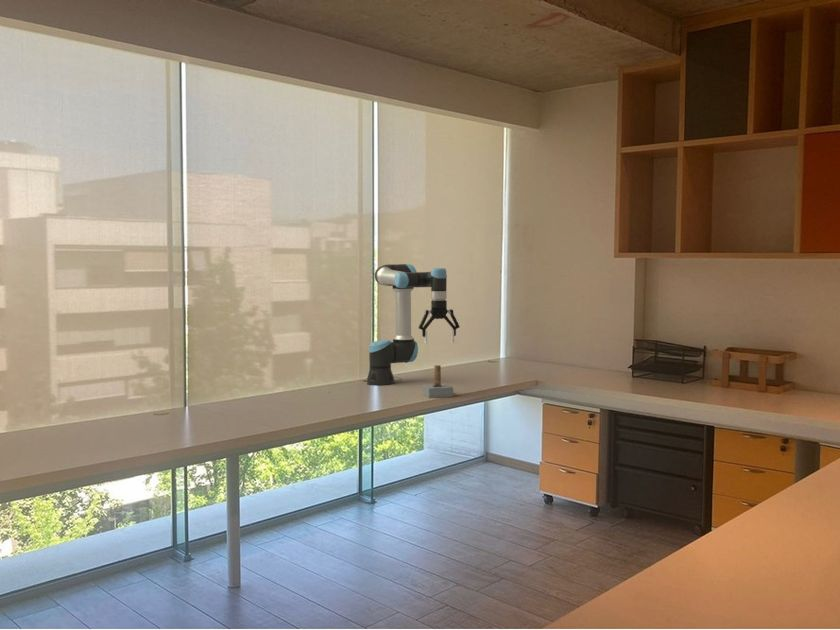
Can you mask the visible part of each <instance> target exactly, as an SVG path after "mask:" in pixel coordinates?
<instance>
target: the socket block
mask: <svg viewBox="0 0 840 630" xmlns="http://www.w3.org/2000/svg"><path fill="white" fill-rule="evenodd" d="M422 395H423V396H425V397H427V398H429V399H434V398H436V399H437V398H447V397H449V398H451V397H454V387H453V386H451V385H449V384H447V383H441V387H435V383H434V384H422Z"/></svg>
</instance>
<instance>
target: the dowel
mask: <svg viewBox="0 0 840 630" xmlns="http://www.w3.org/2000/svg"><path fill="white" fill-rule="evenodd" d="M441 366H442V365H440V364H439V365H438V364H436V365H434V366H433V368H434V384H435V387H441V384H442V381H441V380H442V377H441V373H442V372H441V371H442V369H441Z"/></svg>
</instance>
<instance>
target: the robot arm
mask: <svg viewBox="0 0 840 630" xmlns="http://www.w3.org/2000/svg"><path fill="white" fill-rule="evenodd" d="M447 277H448V275H447V270H446V268H443V267H441V268H439V267H437V268H436V267H435V268H434V267H433V268H431V271H419V272H417V269H416V268H415V265H413V264H408V263H402V264H400V263H399V264H384V265H381V266H378V268H377V269H376V270H375V272H374V280H375V281H376V282H377V284H379V285H381V286H385V287H387V286H388V287H392V290H393V291H394V292H395V293H394V295H395V296H394V298H395V302H394V303H395V307H394V308H395V336H393V337H392V341H391V339H381V340H375V341H372V342H370V343H369V349H368V353H369V358H368V359H369V372H368V374H367V377H366V384H367V385H371V386H386V385H393V384H395V377H394V374H393V371H392V364H400V363H401V364H402V363H406V364H407V363H412V362H414V361H415V360H416V359H417V358H418V353H419V346H418V342H417V341H416V340H415V338H414V337H413V335H412V292H413V290H414V288H431V289H430V292H431V293H430V298H431V306H430V307H431V309H430V310H429V309H425V310H424V314H423V317H422V319H421V322H420V324H419V325H418V329H419V330H421V331H422V332H421V334H422V337H423V339H424V344H425V345H427V344H428V330H427V329H428V327H429V326H430V325H431V324H432V322H433V321H434V320H443V319H444V321H446V323H448V325H449V326H450V327H451V329H450V342H451V343H452V344H454V343H455V336H457V329H460V324H459V322H458V320H457V318H456V316H455V314H454V309H452V308H451V309H450V308H449V309H448V308H447V306H448V304H447V303H448V302H447V295H448V294H447V282H448V281H447ZM430 314H431V316H430V317H429V318H428V316H429V315H430ZM447 314H449V315H450V318H451V319H452V321H453V322H452V321H451V320H450V318H449V317H448V315H447ZM427 318H428V320H427ZM426 321H427V322H426Z"/></svg>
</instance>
